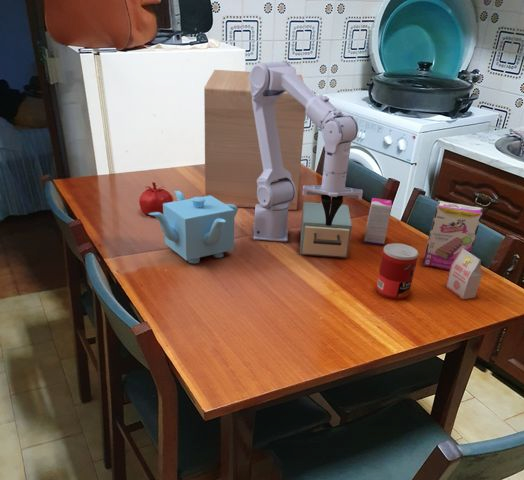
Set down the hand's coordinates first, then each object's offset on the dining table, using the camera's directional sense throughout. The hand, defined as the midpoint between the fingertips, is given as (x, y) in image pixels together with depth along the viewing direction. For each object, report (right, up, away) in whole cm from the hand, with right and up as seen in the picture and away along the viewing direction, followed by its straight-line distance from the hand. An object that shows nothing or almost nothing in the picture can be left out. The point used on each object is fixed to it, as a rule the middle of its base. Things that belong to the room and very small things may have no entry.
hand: (328, 224), depth 139 cm
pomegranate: (-49, +10, +27) cm, 57 cm away
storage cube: (-20, +23, +49) cm, 57 cm away
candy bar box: (+31, -10, +6) cm, 34 cm away
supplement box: (+15, -1, +18) cm, 24 cm away
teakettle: (-34, -7, +5) cm, 35 cm away
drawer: (0, -4, +10) cm, 11 cm away
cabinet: (0, -2, +14) cm, 14 cm away
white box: (+32, -18, -5) cm, 37 cm away
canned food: (+14, -18, -7) cm, 24 cm away
